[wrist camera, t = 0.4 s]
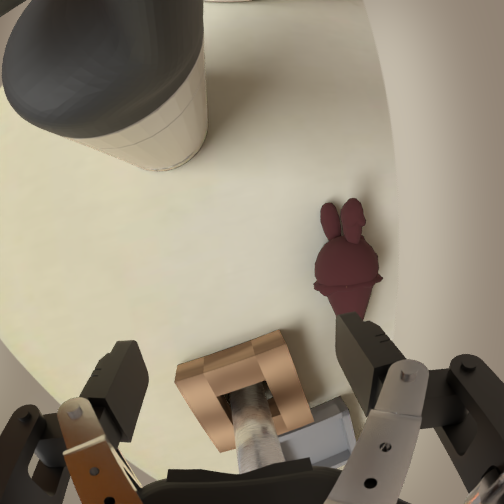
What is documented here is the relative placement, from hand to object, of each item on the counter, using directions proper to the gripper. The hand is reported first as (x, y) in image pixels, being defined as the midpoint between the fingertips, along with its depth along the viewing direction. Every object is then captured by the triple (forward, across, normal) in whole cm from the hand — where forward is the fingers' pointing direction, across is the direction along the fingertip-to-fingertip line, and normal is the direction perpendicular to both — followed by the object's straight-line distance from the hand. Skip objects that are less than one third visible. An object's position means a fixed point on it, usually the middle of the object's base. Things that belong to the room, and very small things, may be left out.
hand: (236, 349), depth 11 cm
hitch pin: (+17, +1, +18) cm, 25 cm away
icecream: (+20, -10, +5) cm, 23 cm away
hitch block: (+17, +1, +18) cm, 25 cm away
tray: (+16, -6, +30) cm, 34 cm away
